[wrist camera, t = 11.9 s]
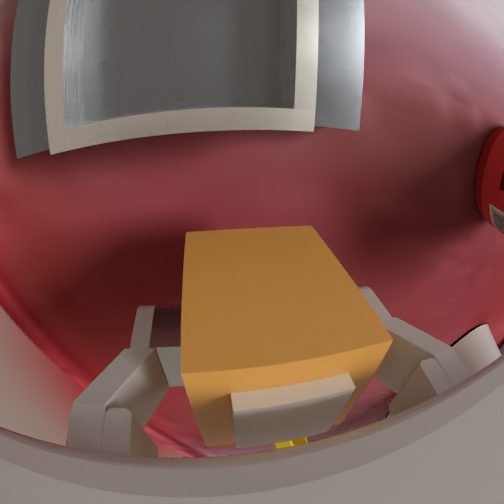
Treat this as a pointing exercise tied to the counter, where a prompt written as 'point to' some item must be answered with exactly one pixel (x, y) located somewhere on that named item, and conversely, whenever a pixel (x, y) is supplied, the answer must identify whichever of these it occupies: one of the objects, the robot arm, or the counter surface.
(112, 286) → the counter surface
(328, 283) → the cap
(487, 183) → the canned food
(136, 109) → the panel
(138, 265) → the counter surface
